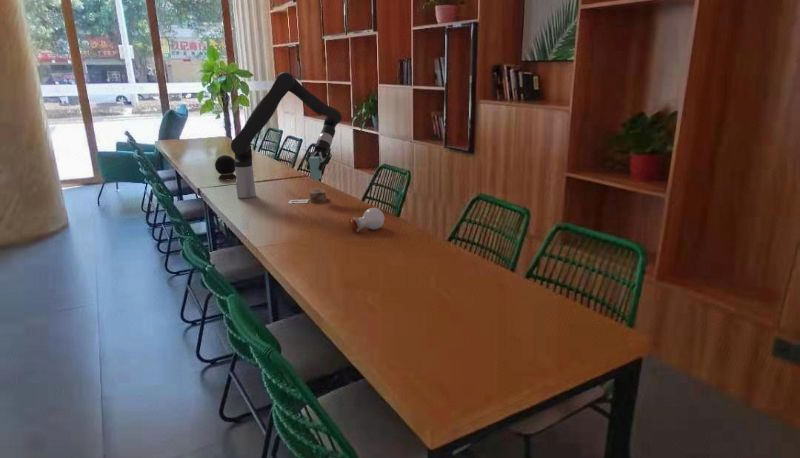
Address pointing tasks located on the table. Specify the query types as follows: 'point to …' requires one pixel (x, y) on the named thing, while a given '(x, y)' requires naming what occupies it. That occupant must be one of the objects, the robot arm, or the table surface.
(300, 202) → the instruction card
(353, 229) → the potion bottle
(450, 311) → the table surface
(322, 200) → the walnut base brick
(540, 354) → the table surface
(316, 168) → the teal brick
